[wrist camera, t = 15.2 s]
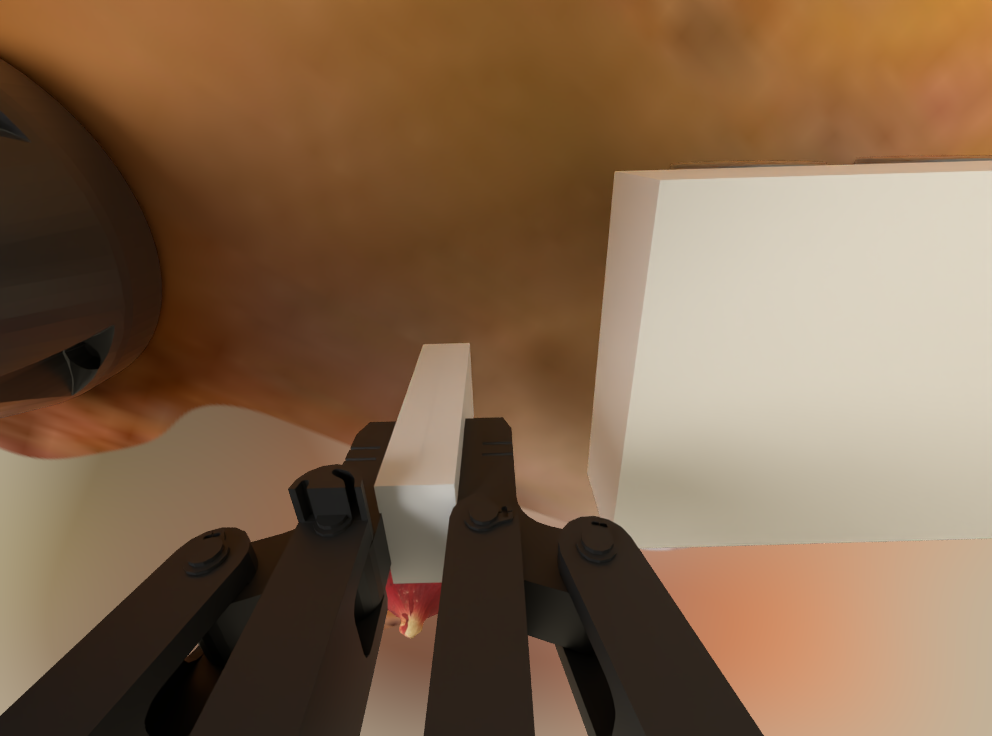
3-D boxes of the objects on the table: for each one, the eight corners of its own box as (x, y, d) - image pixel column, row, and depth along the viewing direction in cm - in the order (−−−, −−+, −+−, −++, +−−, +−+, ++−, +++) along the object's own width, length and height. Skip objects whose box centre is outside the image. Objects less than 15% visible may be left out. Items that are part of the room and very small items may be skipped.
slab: (587, 473, 19) (609, 549, 15) (614, 171, 13) (660, 179, 10) (953, 462, 19) (1062, 536, 15) (1131, 156, 13) (1365, 160, 10)
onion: (371, 468, 25) (324, 597, 18) (469, 454, 25) (460, 580, 17) (397, 538, 28) (366, 675, 20) (486, 527, 27) (486, 662, 20)
